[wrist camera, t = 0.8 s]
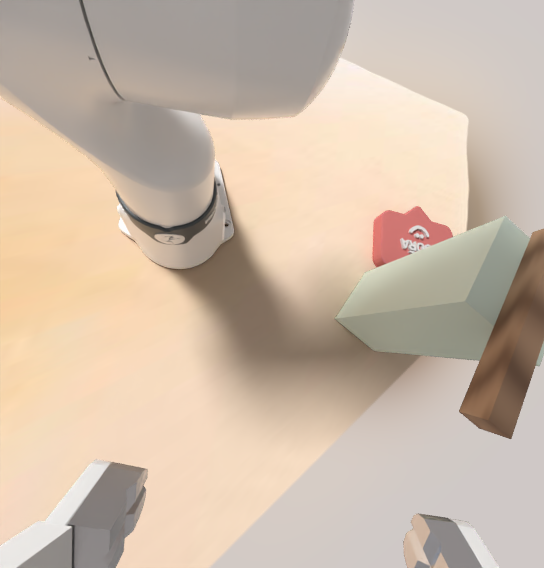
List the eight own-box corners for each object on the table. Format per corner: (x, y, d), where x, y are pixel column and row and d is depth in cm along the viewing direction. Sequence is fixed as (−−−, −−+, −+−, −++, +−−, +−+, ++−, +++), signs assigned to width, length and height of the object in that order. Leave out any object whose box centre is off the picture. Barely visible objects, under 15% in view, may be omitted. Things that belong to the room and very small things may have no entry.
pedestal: (373, 351, 50) (539, 366, 25) (334, 318, 49) (465, 301, 24) (401, 303, 53) (569, 274, 28) (365, 272, 52) (505, 215, 28)
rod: (479, 428, 22) (510, 439, 20) (458, 411, 22) (488, 420, 19) (548, 246, 28) (577, 238, 26) (532, 232, 28) (561, 223, 26)
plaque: (454, 214, 57) (456, 279, 54) (439, 221, 61) (440, 282, 57) (384, 194, 53) (382, 262, 50) (373, 203, 57) (370, 267, 54)
